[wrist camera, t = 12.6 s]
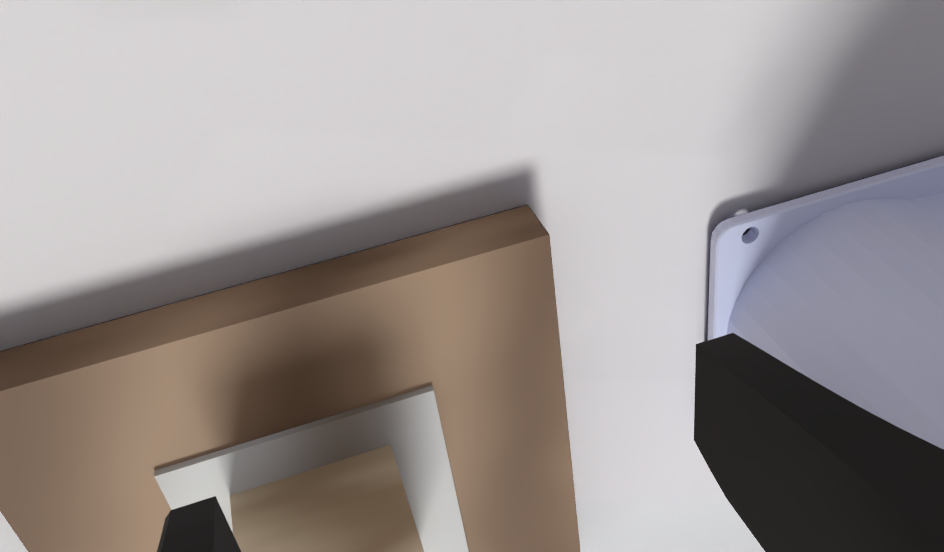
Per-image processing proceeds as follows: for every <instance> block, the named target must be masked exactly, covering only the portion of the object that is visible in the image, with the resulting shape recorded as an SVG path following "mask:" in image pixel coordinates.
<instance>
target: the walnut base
mask: <svg viewBox="0 0 944 552" xmlns="http://www.w3.org/2000/svg"><path fill="white" fill-rule="evenodd" d="M390 444H391V448H392V451H393V454H394V457H395V460H396V464H397V467H398V470H399V473H400V476H401V479H402V483H403V486H404V489H405V492H406V495H407V499H408V502H409V505H410V508H411V511H412V514H413V518H414V521H415V524H416V527H417V530H418V534H419V537H420V540H421V543H422V546H423V549H424V552H580V544H579V534H578V524H577V514H576V503H575V493H574V483H573V473H572V462H571V452H570V442H569V431H568V421H567V411H566V401H565V390H564V380H563V370H562V360H561V349H560V339H559V329H558V319H557V308H556V298H555V288H554V278H553V267H552V257H551V247H550V237H549V233H548V232H547V231H546V229H545V228H544V227H543V225H542V224H541V222H540V221H539V220H538V218H537V217H536V215H535V214H534V213H533V211H532V210H531V208H530V207H529V206H528V205H525V206H522V207H518V208H515V209H511V210H507V211H504V212H500V213H497V214H493V215H489V216H486V217H482V218H479V219H475V220H471V221H468V222H464V223H461V224H457V225H453V226H450V227H446V228H443V229H439V230H435V231H432V232H428V233H425V234H421V235H418V236H414V237H410V238H407V239H403V240H400V241H396V242H392V243H389V244H385V245H382V246H378V247H374V248H371V249H367V250H364V251H360V252H356V253H353V254H349V255H346V256H342V257H338V258H335V259H331V260H328V261H324V262H321V263H317V264H313V265H310V266H306V267H303V268H299V269H295V270H292V271H288V272H285V273H281V274H277V275H274V276H270V277H267V278H263V279H259V280H256V281H252V282H249V283H245V284H241V285H238V286H234V287H231V288H227V289H223V290H220V291H216V292H213V293H209V294H206V295H202V296H198V297H195V298H191V299H188V300H184V301H180V302H177V303H173V304H170V305H166V306H162V307H159V308H155V309H152V310H148V311H144V312H141V313H137V314H134V315H130V316H126V317H123V318H119V319H116V320H112V321H109V322H105V323H101V324H98V325H94V326H91V327H87V328H83V329H80V330H76V331H73V332H69V333H65V334H62V335H58V336H55V337H51V338H47V339H44V340H40V341H37V342H33V343H29V344H26V345H22V346H19V347H15V348H12V349H8V350H4V351H1V352H0V511H1V513H2V514H3V516H4V517H5V518H6V520H7V521H8V523H9V524H10V526H11V527H12V529H13V530H14V532H15V533H16V534H17V536H18V537H19V539H20V540H21V542H22V543H23V545H24V546H25V547H26V549H27V550H28V552H157V549H158V546H159V542H160V538H161V534H162V530H163V526H164V522H165V518H166V517H167V515H168V514H169V512H170V511H171V510H173V509H176V508H179V507H183V506H186V505H189V504H192V503H195V502H198V501H202V500H205V499H208V498H211V497H214V496H216V498H217V500H218V502H219V505H220V507H221V509H222V511H223V513H224V515H225V518H226V520H227V522H228V524H229V526H230V528H231V531H232V533H233V527H232V517H231V506H230V495H233V494H236V493H240V492H243V491H246V490H249V489H252V488H255V487H258V486H262V485H265V484H268V483H271V482H274V481H277V480H280V479H284V478H287V477H290V476H293V475H296V474H299V473H302V472H306V471H309V470H312V469H315V468H318V467H321V466H324V465H327V464H331V463H334V462H337V461H340V460H343V459H346V458H349V457H353V456H356V455H359V454H362V453H365V452H368V451H371V450H375V449H378V448H381V447H384V446H387V445H390Z"/></svg>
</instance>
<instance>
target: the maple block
mask: <svg viewBox="0 0 944 552" xmlns="http://www.w3.org/2000/svg"><path fill="white" fill-rule="evenodd" d="M230 506H231V517H232V527H233V535H234V537H235V539H236V541H237V544H238V546H239V548H240V550H241V552H424V549H423V546H422V543H421V540H420V537H419V534H418V530H417V527H416V524H415V521H414V518H413V514H412V511H411V508H410V505H409V502H408V499H407V495H406V492H405V489H404V486H403V483H402V479H401V476H400V473H399V470H398V467H397V464H396V460H395V457H394V454H393V451H392V448H391V444H390V445H387V446H384V447H381V448H378V449H375V450H371V451H368V452H365V453H362V454H359V455H356V456H353V457H349V458H346V459H343V460H340V461H337V462H334V463H331V464H327V465H324V466H321V467H318V468H315V469H312V470H309V471H306V472H302V473H299V474H296V475H293V476H290V477H287V478H284V479H280V480H277V481H274V482H271V483H268V484H265V485H262V486H258V487H255V488H252V489H249V490H246V491H243V492H240V493H236V494H233V495H230Z"/></svg>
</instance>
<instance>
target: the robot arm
mask: <svg viewBox="0 0 944 552" xmlns="http://www.w3.org/2000/svg"><path fill="white" fill-rule="evenodd" d="M750 227H751V228H750ZM748 228H750V231H749V232H748V233H747V234H745V235H744V236H742V235H743V233H744V232H745V231H746V230H747V229H748ZM694 441H695V442H696V444H697V446H698V448H699V450H700V452H701V454H702V455H703V457H704V459H705V461H706V463H707V465H708V466H709V468H710V470H711V472H712V474H713V475H714V477H715V479H716V481H717V482H718V484H719V486H720V488H721V489H722V491H723V493H724V495H725V496H726V498H727V499H728V501H729V502H730V503H731V505H732V506H733V508H734V509H735V511H736V512H737V513H738V515H739V516H740V517H741V519H742V520H743V522H744V523H745V524H746V526H747V527H748V528H749V530H750V531H751V532H752V534H753V535H754V537H755V538H756V539H757V541H758V542H759V543H760V545H761V546H762V547H763V549H764V550H765V551H766V552H944V156H940V157H937V158H934V159H930V160H927V161H923V162H920V163H917V164H913V165H910V166H906V167H903V168H899V169H896V170H893V171H889V172H886V173H882V174H879V175H875V176H872V177H869V178H865V179H862V180H858V181H855V182H852V183H848V184H845V185H841V186H838V187H834V188H831V189H828V190H824V191H821V192H817V193H814V194H810V195H807V196H804V197H800V198H797V199H793V200H790V201H787V202H783V203H780V204H776V205H773V206H769V207H766V208H763V209H759V210H756V211H752V212H749V213H745V214H742V215H739V216H735V217H732V218H728V219H726V220H724V221H722V222H721V223H719V224H718V225H717V226H716V227H715V229H714V231H713V232H712V236H711V248H710V279H709V310H708V341H705V342H702V343H699V344H696V373H695V418H694ZM157 552H241V550H240V548H239V546H238V544H237V541H236V539H235V537H234V535H233V533H232V531H231V528H230V526H229V524H228V522H227V520H226V518H225V515H224V513H223V511H222V509H221V507H220V505H219V502H218V500H217V498H216V496H214V497H211V498H208V499H205V500H202V501H198V502H195V503H192V504H189V505H186V506H183V507H179V508H176V509H173V510H171V511H170V512H169V514H168V515H167V517H166V518H165V522H164V526H163V530H162V534H161V538H160V542H159V546H158V549H157Z"/></svg>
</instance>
